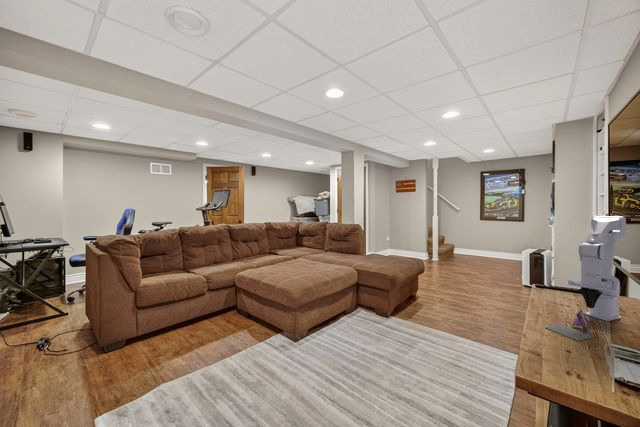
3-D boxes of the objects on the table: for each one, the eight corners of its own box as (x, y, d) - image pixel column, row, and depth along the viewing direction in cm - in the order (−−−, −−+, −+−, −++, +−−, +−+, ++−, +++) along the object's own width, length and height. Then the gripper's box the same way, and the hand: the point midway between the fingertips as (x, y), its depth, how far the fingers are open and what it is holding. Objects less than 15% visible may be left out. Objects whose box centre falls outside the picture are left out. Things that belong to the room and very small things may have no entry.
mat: (560, 324, 109) (560, 323, 109) (595, 337, 99) (595, 336, 99) (544, 327, 107) (544, 327, 107) (578, 341, 96) (578, 340, 96)
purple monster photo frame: (579, 314, 103) (584, 309, 108) (563, 315, 106) (568, 310, 112) (588, 332, 101) (593, 326, 106) (571, 333, 105) (576, 327, 110)
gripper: (562, 270, 113) (562, 302, 113) (608, 279, 99) (607, 315, 99) (574, 268, 115) (574, 300, 115) (620, 277, 101) (620, 313, 101)
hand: (590, 307), depth 108 cm, fingers closed
